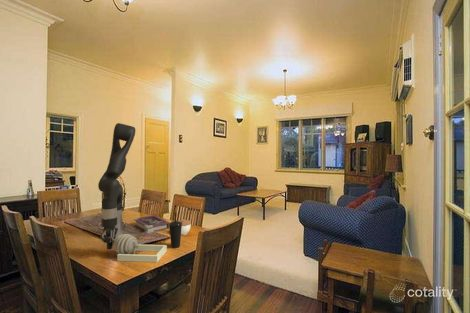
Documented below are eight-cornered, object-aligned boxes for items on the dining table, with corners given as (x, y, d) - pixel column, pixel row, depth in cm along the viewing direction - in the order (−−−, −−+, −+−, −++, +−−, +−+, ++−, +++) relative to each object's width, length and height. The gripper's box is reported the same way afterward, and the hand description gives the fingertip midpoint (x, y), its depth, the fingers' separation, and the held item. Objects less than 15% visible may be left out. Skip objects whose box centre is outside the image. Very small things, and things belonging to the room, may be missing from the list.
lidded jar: (187, 236, 162) (187, 222, 162) (171, 235, 164) (171, 221, 164) (193, 231, 172) (193, 217, 172) (178, 230, 174) (178, 216, 174)
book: (133, 225, 187) (133, 218, 187) (154, 221, 198) (154, 215, 198) (146, 234, 168) (146, 226, 168) (169, 229, 179) (169, 222, 178)
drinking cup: (169, 244, 149) (169, 210, 148) (183, 244, 149) (183, 210, 149) (167, 249, 141) (167, 214, 140) (181, 249, 142) (181, 213, 141)
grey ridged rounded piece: (120, 249, 141) (120, 229, 140) (146, 253, 135) (146, 233, 135) (105, 257, 130) (105, 236, 130) (132, 261, 125) (132, 239, 125)
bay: (117, 260, 126) (117, 254, 126) (130, 249, 141) (130, 244, 141) (157, 262, 125) (157, 256, 125) (166, 250, 139) (166, 245, 139)
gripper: (109, 213, 140) (109, 244, 141) (94, 219, 127) (95, 253, 127) (122, 213, 140) (122, 244, 140) (109, 220, 126) (109, 254, 127)
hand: (109, 248), depth 134 cm, fingers closed
